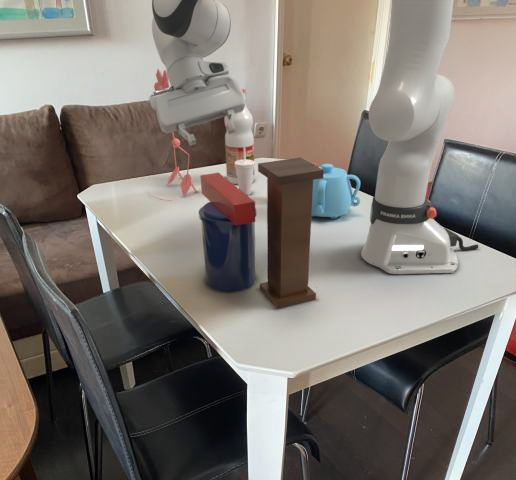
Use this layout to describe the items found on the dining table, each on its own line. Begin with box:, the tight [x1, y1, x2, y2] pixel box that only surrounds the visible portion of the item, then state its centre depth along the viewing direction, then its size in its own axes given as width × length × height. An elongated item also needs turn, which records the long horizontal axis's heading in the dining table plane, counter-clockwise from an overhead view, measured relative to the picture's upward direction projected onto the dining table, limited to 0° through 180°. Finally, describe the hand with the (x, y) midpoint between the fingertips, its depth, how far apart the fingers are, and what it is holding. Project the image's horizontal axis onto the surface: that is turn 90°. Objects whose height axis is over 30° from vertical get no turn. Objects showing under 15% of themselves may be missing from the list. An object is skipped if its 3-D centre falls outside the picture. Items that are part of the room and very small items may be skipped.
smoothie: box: [234, 147, 256, 196], centre depth 157 cm, size 6×6×14 cm
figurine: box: [149, 68, 198, 202], centre depth 152 cm, size 15×26×35 cm, turn 29°
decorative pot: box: [311, 163, 361, 220], centre depth 142 cm, size 16×16×14 cm
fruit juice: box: [224, 88, 256, 186], centre depth 163 cm, size 9×9×28 cm
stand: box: [257, 157, 324, 310], centre depth 100 cm, size 9×9×27 cm
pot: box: [198, 201, 257, 293], centre depth 109 cm, size 12×12×17 cm
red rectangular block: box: [200, 172, 256, 225], centre depth 103 cm, size 20×4×4 cm, turn 24°
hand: (212, 137), depth 112 cm, fingers open, 8 cm apart
